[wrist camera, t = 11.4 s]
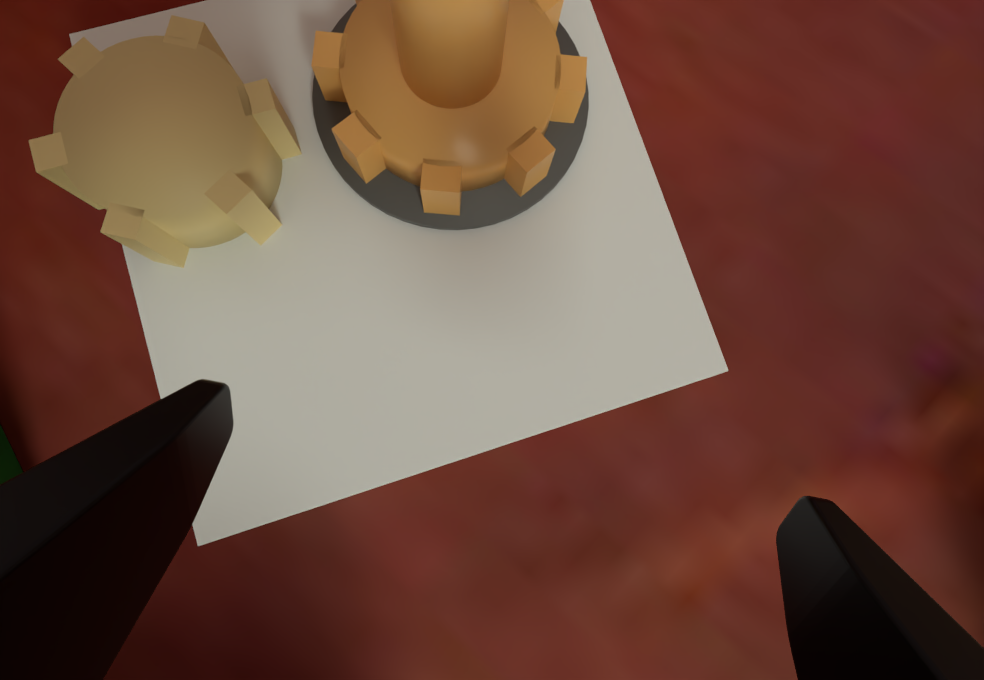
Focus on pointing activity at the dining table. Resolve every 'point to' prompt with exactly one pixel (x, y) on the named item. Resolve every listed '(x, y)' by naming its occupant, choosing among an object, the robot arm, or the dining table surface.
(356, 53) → the planet gear
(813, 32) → the dining table surface
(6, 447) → the milk carton
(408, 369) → the carrier plate
